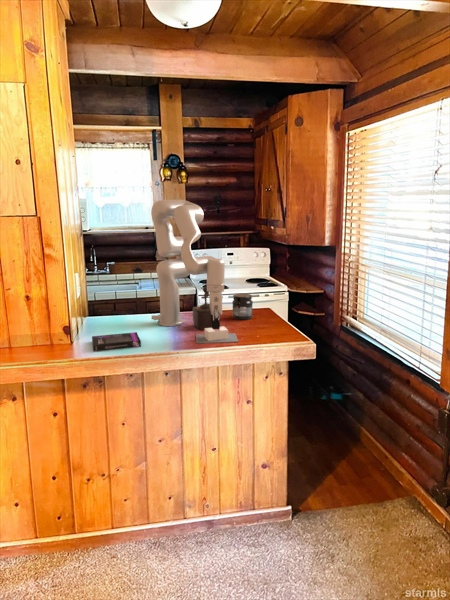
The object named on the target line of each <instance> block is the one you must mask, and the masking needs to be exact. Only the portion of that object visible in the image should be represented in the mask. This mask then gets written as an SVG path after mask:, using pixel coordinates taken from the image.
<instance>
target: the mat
mask: <svg viewBox="0 0 450 600" xmlns="http://www.w3.org/2000/svg"><path fill="white" fill-rule="evenodd" d="M195 340H196V341H195V342H196V344H197V345H198V344H201V345H202V344H224V343H225V344H227V343H228V344H230V343H239V340H238V337H237V334H236V332H233V333H231V332H228V339H221V340H212V341H208V340H207V339H206V338H205V333H204V334H203V333H202V334H199V333H198V334H195Z"/></svg>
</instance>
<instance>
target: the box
mask: <svg viewBox="0 0 450 600" xmlns="http://www.w3.org/2000/svg"><path fill="white" fill-rule="evenodd" d="M91 340H92V342H91V343H92V352H93V353H95V352H103V351H105V352H106V351H114V350H123V349H124V350H125V349H131V348H139V347H140V348H141V347H142V344H141V339H140V337H139V334H138V332H136V331H135V332H126V333H125V332H124V333H113V334H111V333H110V334H103V335H92V336H91Z"/></svg>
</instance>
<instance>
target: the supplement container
mask: <svg viewBox="0 0 450 600" xmlns="http://www.w3.org/2000/svg"><path fill="white" fill-rule="evenodd" d="M232 298H233V300H232V303H231V304H232V315H231V316H232V318H233V319H234V320H238V321H239V320H240V321H247V320H251V319H252V318H253V316H254V315H253V303H254V302H253V300H252V299H253V296H252V294H250V293H243V292H242V293H236V294H233V297H232Z"/></svg>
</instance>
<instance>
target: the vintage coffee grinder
mask: <svg viewBox="0 0 450 600" xmlns="http://www.w3.org/2000/svg"><path fill="white" fill-rule="evenodd" d="M202 292H203V293H204V294H203V295H204V296H201V297H200V298H201V299H204V303H203V304H201V305H199V306H193V307H192V321H193V322H192V324H193V327H195V328H196V329H197V330H199V331H205V330H204V328H212V322H211V311H210V303H208V300H207V298H208V297H210V292H208V291H207V286H204V287H203V288H202ZM219 320H221V314H219Z"/></svg>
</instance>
